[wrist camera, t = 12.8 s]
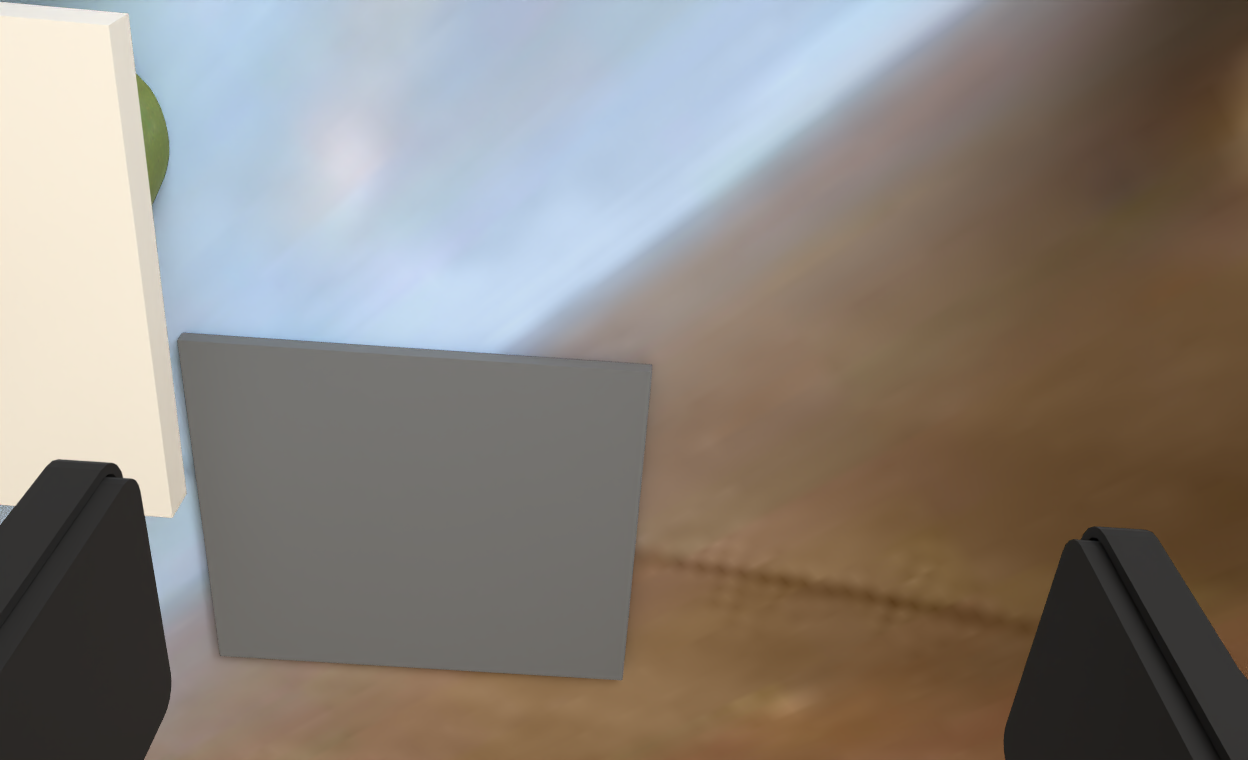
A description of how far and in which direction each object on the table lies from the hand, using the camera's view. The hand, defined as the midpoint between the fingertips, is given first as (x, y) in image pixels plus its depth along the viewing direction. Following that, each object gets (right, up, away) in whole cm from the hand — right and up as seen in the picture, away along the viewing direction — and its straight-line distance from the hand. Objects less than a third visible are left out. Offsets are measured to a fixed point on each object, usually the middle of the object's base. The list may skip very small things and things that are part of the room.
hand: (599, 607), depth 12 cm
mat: (-8, -3, +37) cm, 38 cm away
